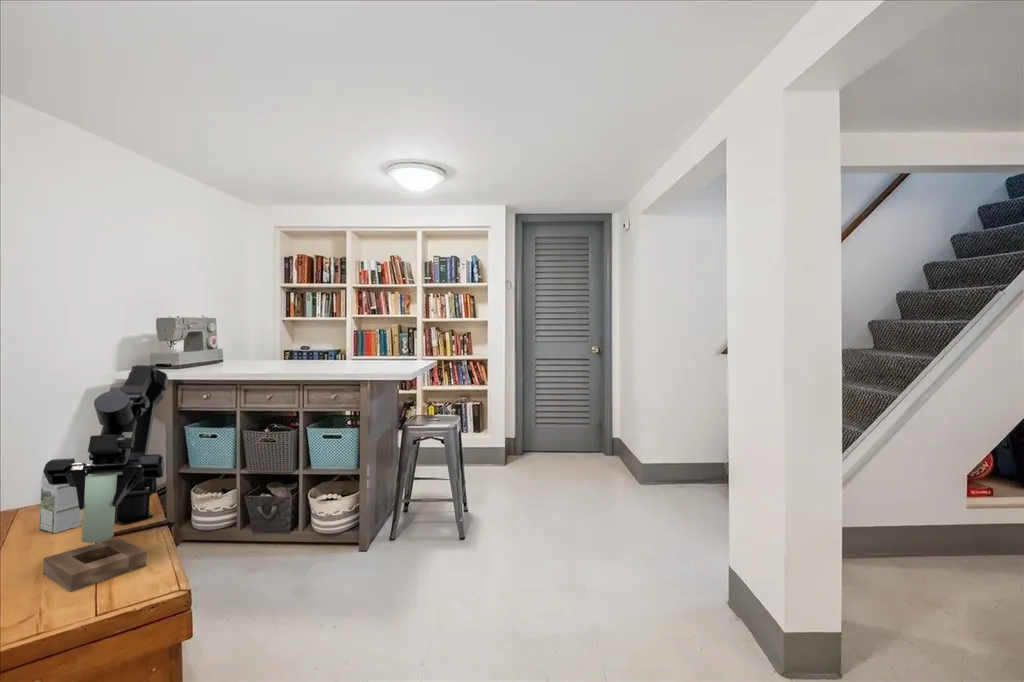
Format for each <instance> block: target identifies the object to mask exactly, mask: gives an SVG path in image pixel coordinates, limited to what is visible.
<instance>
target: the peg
mask: <svg viewBox="0 0 1024 682" xmlns="http://www.w3.org/2000/svg"><path fill="white" fill-rule="evenodd" d="M116 487H117V473H115V472H102V473H95V474H88V476H86V478H85V495H84V507H83V510H82V512H83V513H82V514H83V515H82V530H81V542H82V543H87V544H95V543H99V542H103V541H106V540H110V539H112V537H113V538H114V534H115V521H114V520H115V507H114V506H113V502H114V497H115V494H116Z"/></svg>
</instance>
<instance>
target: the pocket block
mask: <svg viewBox="0 0 1024 682" xmlns="http://www.w3.org/2000/svg"><path fill="white" fill-rule="evenodd" d="M147 554H148V551H147V550H145V549H143V548H140V547H139V546H136V545H135V544H132V543H130V542H129V541H126V540H124V539H122V538H121V537H119V536H118V537H113V538H110V539H107V540H104V541H100V542H95V543H91V544H88V545H86V546H81V547H78V548H75V549H72V550H71V549H70V550H67V551H64V552H61V553H57V554H54V555H50V556H46V557H43V565H42V575H44V576H45V577H47V578H49V579H50V580H52V581H53V582H55V583H56V584H58V585H59V586H61V587H62V588H64V589H65V590H67V591H68V592H70V593H71V592H74V591H77V590H80V589H83V588H86V587H90V586H92V585H95V584H98V583H101V582H103V581H107V580H110V579H113V578H117V577H118V576H121V575H124V574H127V573H129V572H133V571H136V570H139V569H142V568H144V567H147V556H148V555H147Z"/></svg>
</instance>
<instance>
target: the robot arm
mask: <svg viewBox="0 0 1024 682" xmlns="http://www.w3.org/2000/svg"><path fill="white" fill-rule="evenodd" d="M168 388H169V377H168V375H167V373H166V372H163V371H162V370H159V369H158V367H157V366H154V365H151V364H150V365H149V364H148V365H142V364H139V365H137V364H136V365H132V367H131V370H130V372H128V376H127V379H126V380H125V382H124V384H123V385H122V386H120V387H110V389H109V391H106V392H103V393H101V394H100V395H98V396H97V397H96V398H95V399H94V401H93V406H94V409H95V413H96V416H97V419H98V423H99V425H100V426H102V428H101V431H100V435H98V434H95V435H91V436H90V437H89V443H88V447H87V453H89V455H88V460H89V461H92V462H91V463H88V464H87V463H85V462H76V460H75V458H74V457H73V458H72V457H71V458H57V459H55V458H54V459H50V460H49V461H48V462H46V463H45V465H44V467H43V469H42V470H43V472H44V474H45V476H46V478H47V480H48V483H49V484H51V485H62V484H69V486H70V487H76V490H77V497H78V504H79V509H80V510H82V511H83V510H84V495H85V478H86V476H88V475H91V474H95V473H102V472H115V473H117V487H116V494H115V497H114V502H113V506H114V507H115V520H114V522H117V523H119V524H121V525H127V524H131V523H134V522H138V521H141V520H145V519H146V520H147V519H150V518H152V517H153V514H151V513H150V501H151V500H150V499H151V496H153V495H154V494H157V493H158V492H157V491H158V482H157V479H160V478H163V477H164V473H165V461H164V460H165V459H164V456H163V455H162V454H160V453H156V454H154V453H153V454H148V452H149V447H150V439H151V434H152V427H153V423H154V418H155V417H154V416H155V410H156V407H157V405H159V403H161V402H162V400H164V398H165V393H166V392H167V391H168ZM130 522H131V523H130Z"/></svg>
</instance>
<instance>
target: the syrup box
mask: <svg viewBox="0 0 1024 682" xmlns="http://www.w3.org/2000/svg"><path fill="white" fill-rule="evenodd" d="M43 470H44V469H42V470H41V484H40V485H41V487H40V504H39V505H40V507H39V527H38V528H39V529H38V530H40V531H44V532H47V533H51V534H58V532H59V533H61V531H63V532H65V531H64V530H66V531H69V530H72V529H71V528H73V529H77V528H78V527H82V520H83V515H82V514H83V513H82V512H83V509H82V510H80V509H79V504H78V497H77V490H76V487H70V486H69V484H62V485H51V484H49V483H48V480H47V478H46V476H45V474H44V472H43ZM68 529H69V530H68Z"/></svg>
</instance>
